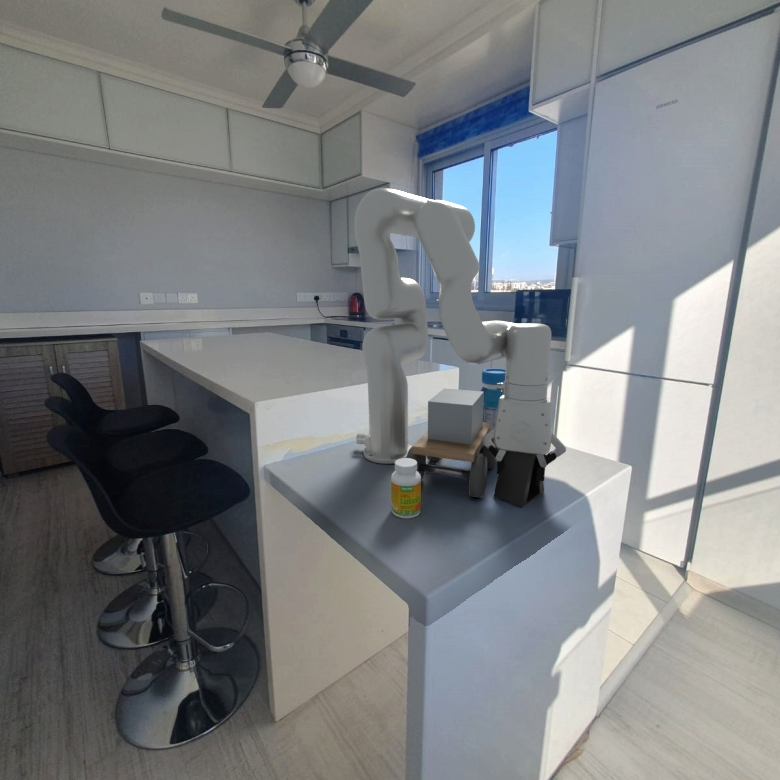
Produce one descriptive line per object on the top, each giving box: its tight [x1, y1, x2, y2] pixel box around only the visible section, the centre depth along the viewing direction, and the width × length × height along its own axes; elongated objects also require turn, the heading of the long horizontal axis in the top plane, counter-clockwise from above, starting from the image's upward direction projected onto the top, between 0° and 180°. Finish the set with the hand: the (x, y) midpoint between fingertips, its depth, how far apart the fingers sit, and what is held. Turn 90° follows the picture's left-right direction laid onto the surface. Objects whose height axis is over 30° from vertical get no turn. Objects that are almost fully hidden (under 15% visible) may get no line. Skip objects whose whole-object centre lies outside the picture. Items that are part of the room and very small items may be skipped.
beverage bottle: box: [480, 368, 506, 446], centre depth 104 cm, size 8×8×20 cm
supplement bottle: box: [390, 458, 422, 519], centre depth 74 cm, size 5×5×10 cm
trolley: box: [406, 388, 497, 499], centre depth 88 cm, size 22×15×18 cm
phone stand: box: [493, 451, 545, 509], centre depth 80 cm, size 9×6×12 cm, turn 134°
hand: (520, 479), depth 80 cm, fingers closed on phone stand, 6 cm apart
